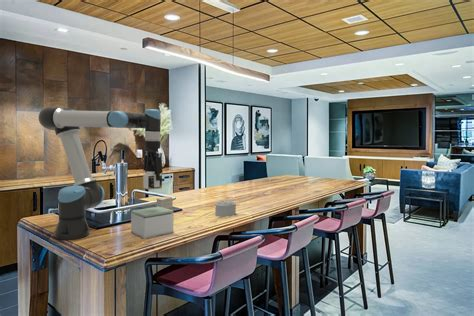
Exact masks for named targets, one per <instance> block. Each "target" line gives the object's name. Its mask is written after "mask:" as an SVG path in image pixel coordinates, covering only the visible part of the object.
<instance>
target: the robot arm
mask: <svg viewBox="0 0 474 316" xmlns="http://www.w3.org/2000/svg"><path fill="white" fill-rule="evenodd" d="M161 120H162V118H161V111H160V110H159V109H155V108H153V109H152V108H150V109H149V108H147V109H145V110H144V112H143V113H142V112H141V113H140V112H139V113H137V112H136V113H135V112H130V111H129V112H127V111H122V110H114V111H110V110H109V111H108V110H74V108H73V109H72V108H69V107H59V106H46V107H43V108H42V109H41V110H40V111H39V114H38V122H39V124H40V125H41V126H42V127H43V128H44V129H46V130H49V131H54V132H55V136H56V137H58V138H59V139H60V140H61V144H62V148H63V150H64V153H65V156H66V159H67V162H68V165H69V168H70V172H71V175H72V178H73V181H74V183H73V185H70V186H69V185H68V186H65V187H63V188H61V189H59V191H58V196H57V201H58V221H57V224H56V228H55V231H54V238H55V239H57V240H61V241H64V240H65V241H68V240H77V239H78V240H79V239H82V238H85V237H87V236H88V237H89V235H90V227H89V225H88V222H87V219H86V210H89V209H93V208H96V207H97V206H99V205H101V203H102V202H103V201H104V199H105V193H106V192H105V190H104V187H102V185H100V184H99V183H98V180H97V179H96V178H94V177H93V176H92V172H91V170H90V167H89V164H88V161H87V158H86V157H87V156H86V154H85V152H84V148H83V144H82V141H81V139H80V135H79V133H80V132H81V127H83V128H91V127H92V128H111V129H112V128H116V129H144V139H145V141H144V148H145V149H147V151H143V167H142V170H143V171H144V172H145V174H147V173H146V166H147V165H150V164H153V165H154V170H155V173H154V187H160V174H161V175H162V174H163V171H164V170H163V160H162V159H163V153H162V152H159V149H160V148H161V141H160V140H161V136H162V135H161V124H162V123H161V122H162V121H161Z"/></svg>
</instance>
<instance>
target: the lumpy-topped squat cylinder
mask: <svg viewBox="0 0 474 316" xmlns="http://www.w3.org/2000/svg"><path fill="white" fill-rule="evenodd" d="M236 207H237V204H236V203H235V202H234V201H233V200H228V199H226V200H222V199H221V200H219V201H218V202H216V203H215V211H214V212H215V217H218V216H219V217H220V218H224V217H225V218H227V217H226V216H229V217H233V216H232V215H234V216H236V215H235V214H237V212H236V209H237V208H236ZM219 217H218V218H219Z"/></svg>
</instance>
